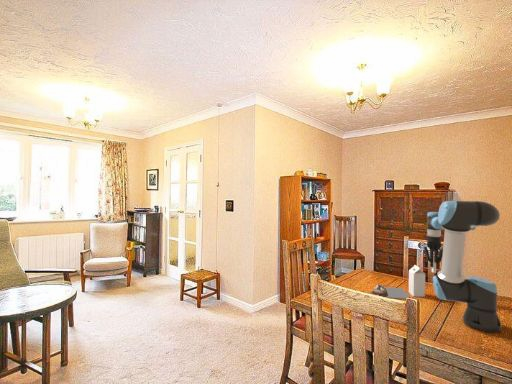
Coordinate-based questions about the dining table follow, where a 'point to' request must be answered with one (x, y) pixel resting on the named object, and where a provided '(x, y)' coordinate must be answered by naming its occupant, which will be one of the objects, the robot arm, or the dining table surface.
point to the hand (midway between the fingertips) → (433, 272)
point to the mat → (397, 293)
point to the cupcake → (380, 291)
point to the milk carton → (416, 282)
